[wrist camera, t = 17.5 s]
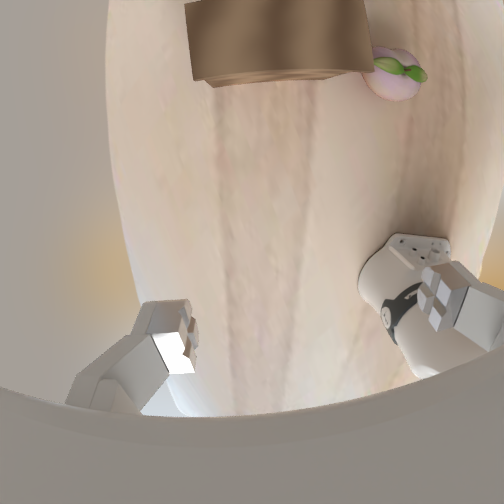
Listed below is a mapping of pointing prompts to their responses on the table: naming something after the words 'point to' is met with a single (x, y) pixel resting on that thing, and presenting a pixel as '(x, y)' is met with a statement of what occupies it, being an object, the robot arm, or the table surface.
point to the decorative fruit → (394, 74)
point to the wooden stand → (277, 40)
